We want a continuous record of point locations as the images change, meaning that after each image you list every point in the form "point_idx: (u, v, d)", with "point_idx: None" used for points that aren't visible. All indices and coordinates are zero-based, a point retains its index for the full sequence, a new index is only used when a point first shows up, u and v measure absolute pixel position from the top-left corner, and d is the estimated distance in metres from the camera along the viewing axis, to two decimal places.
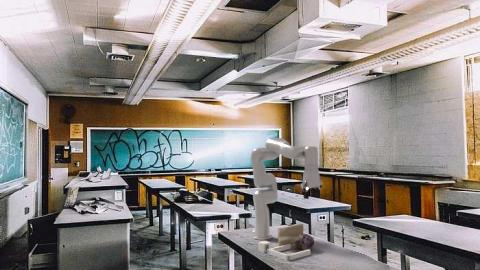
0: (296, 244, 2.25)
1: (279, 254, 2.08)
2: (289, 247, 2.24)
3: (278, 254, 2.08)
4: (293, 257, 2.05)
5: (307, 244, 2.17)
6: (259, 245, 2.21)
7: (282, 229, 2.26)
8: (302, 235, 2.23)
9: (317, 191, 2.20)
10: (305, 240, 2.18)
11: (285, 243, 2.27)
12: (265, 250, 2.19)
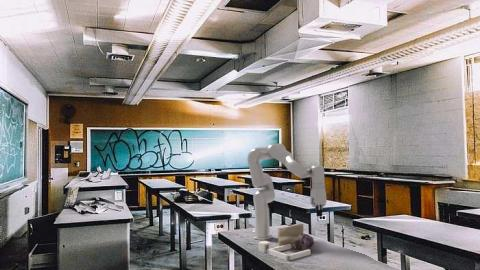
0: (296, 244, 2.25)
1: (279, 254, 2.08)
2: (289, 247, 2.24)
3: (278, 254, 2.08)
4: (293, 257, 2.05)
5: (307, 244, 2.17)
6: (259, 245, 2.21)
7: (282, 229, 2.26)
8: (302, 235, 2.23)
9: None
10: (305, 240, 2.18)
11: (285, 243, 2.27)
12: (265, 250, 2.19)
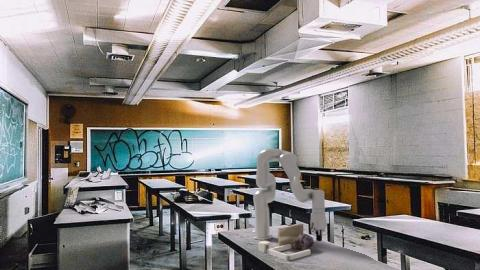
0: (296, 244, 2.25)
1: (279, 254, 2.08)
2: (289, 247, 2.24)
3: (278, 254, 2.08)
4: (293, 257, 2.05)
5: (306, 244, 2.17)
6: (259, 245, 2.21)
7: (282, 229, 2.26)
8: (302, 235, 2.23)
9: None
10: (304, 240, 2.18)
11: (285, 243, 2.27)
12: (265, 250, 2.19)
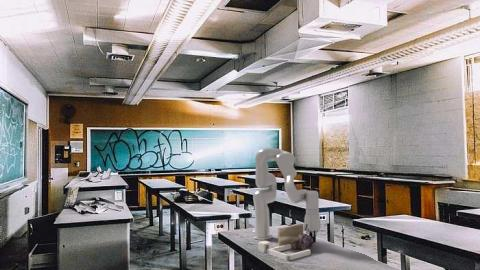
0: (295, 244, 2.25)
1: (279, 254, 2.08)
2: (289, 247, 2.24)
3: (278, 254, 2.08)
4: (293, 257, 2.05)
5: (306, 244, 2.17)
6: (259, 245, 2.21)
7: (282, 229, 2.26)
8: (301, 235, 2.23)
9: None
10: (304, 240, 2.18)
11: (285, 243, 2.27)
12: (265, 250, 2.19)
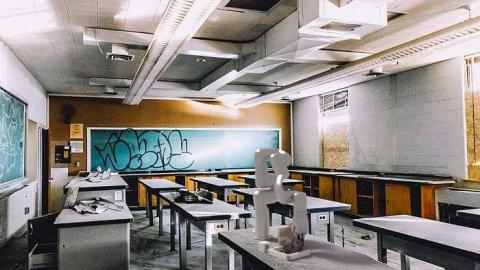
0: (284, 248, 2.16)
1: (279, 254, 2.08)
2: None
3: (278, 254, 2.08)
4: (293, 257, 2.05)
5: (297, 247, 2.10)
6: (259, 245, 2.21)
7: (282, 229, 2.26)
8: (290, 238, 2.16)
9: (301, 239, 2.20)
10: (295, 243, 2.11)
11: None
12: (265, 250, 2.19)
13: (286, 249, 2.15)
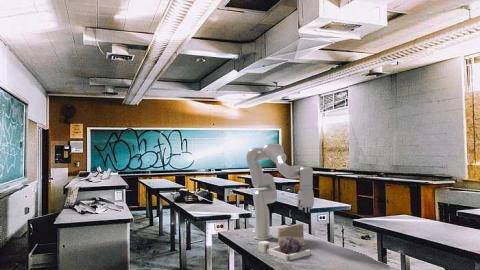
0: (281, 249, 2.15)
1: (279, 254, 2.08)
2: None
3: (278, 254, 2.08)
4: (293, 257, 2.05)
5: (296, 248, 2.08)
6: (259, 245, 2.21)
7: (282, 229, 2.26)
8: (288, 239, 2.14)
9: None
10: (293, 244, 2.09)
11: None
12: (265, 250, 2.19)
13: (284, 250, 2.13)
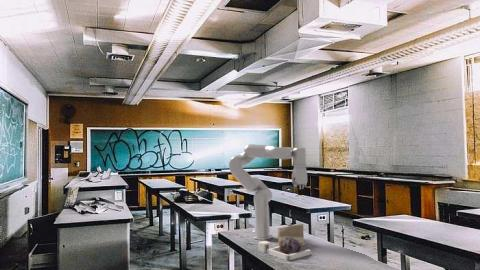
0: (281, 249, 2.14)
1: (279, 254, 2.08)
2: None
3: (278, 254, 2.08)
4: (293, 257, 2.05)
5: (295, 248, 2.08)
6: (259, 245, 2.21)
7: (282, 229, 2.26)
8: (288, 239, 2.14)
9: None
10: (293, 244, 2.09)
11: None
12: (265, 250, 2.19)
13: (284, 250, 2.13)
